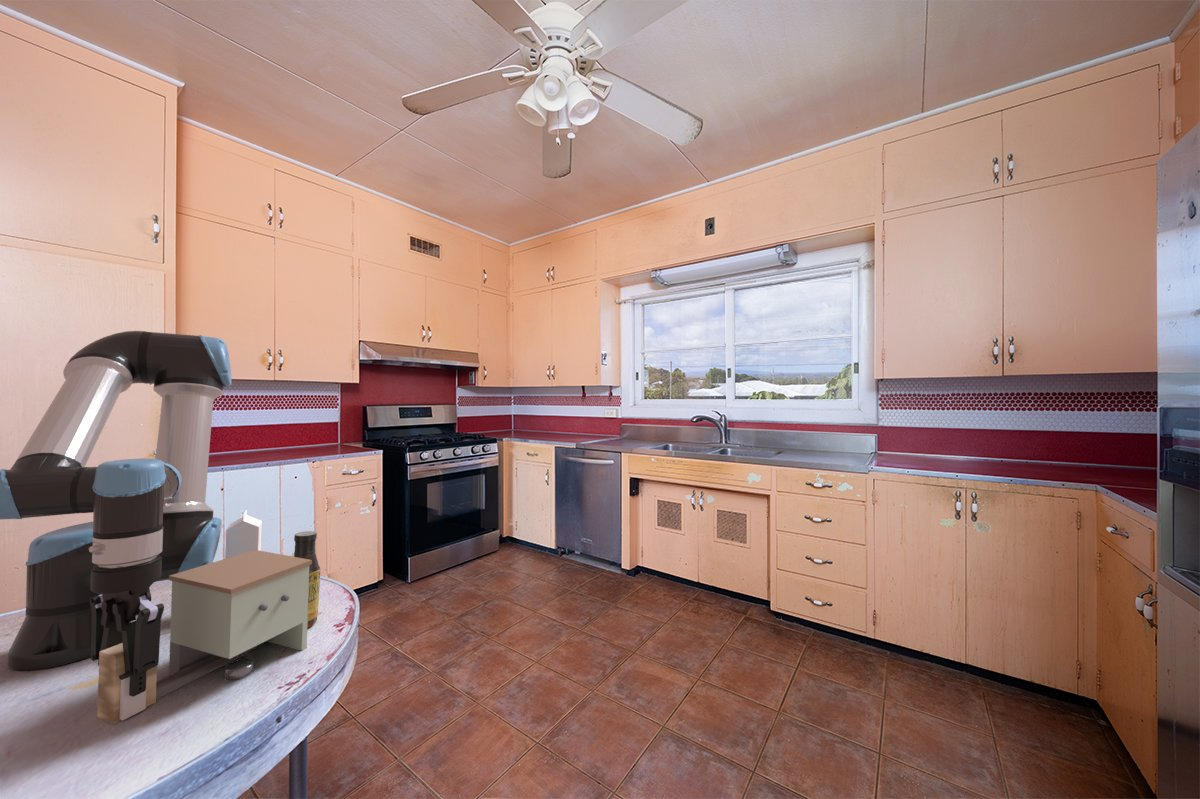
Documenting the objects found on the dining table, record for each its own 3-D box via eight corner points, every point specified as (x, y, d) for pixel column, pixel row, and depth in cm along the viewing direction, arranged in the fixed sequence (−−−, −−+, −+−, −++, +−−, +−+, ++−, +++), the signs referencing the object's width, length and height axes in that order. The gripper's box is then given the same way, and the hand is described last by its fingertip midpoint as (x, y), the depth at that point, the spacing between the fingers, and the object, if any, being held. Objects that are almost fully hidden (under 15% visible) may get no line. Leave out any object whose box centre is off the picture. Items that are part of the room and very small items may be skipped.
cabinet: (165, 673, 78) (169, 575, 78) (252, 632, 92) (255, 549, 92) (229, 694, 73) (233, 590, 73) (311, 647, 87) (313, 560, 87)
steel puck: (218, 679, 77) (219, 668, 77) (243, 666, 81) (243, 656, 81) (235, 684, 76) (235, 673, 76) (259, 670, 80) (259, 660, 80)
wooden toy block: (97, 717, 67) (99, 651, 67) (244, 645, 87) (245, 594, 87) (113, 723, 66) (115, 656, 66) (258, 649, 86) (260, 598, 86)
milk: (223, 613, 99) (225, 516, 99) (228, 602, 105) (230, 510, 105) (257, 607, 103) (259, 513, 103) (260, 597, 108) (262, 507, 108)
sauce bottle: (300, 635, 92) (303, 539, 92) (275, 631, 93) (278, 536, 93) (325, 620, 98) (328, 530, 98) (302, 616, 99) (304, 528, 99)
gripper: (60, 560, 68) (54, 713, 67) (131, 576, 62) (125, 742, 62) (125, 545, 75) (120, 683, 75) (194, 559, 70) (188, 707, 69)
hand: (122, 709), depth 68 cm, fingers open, 4 cm apart
